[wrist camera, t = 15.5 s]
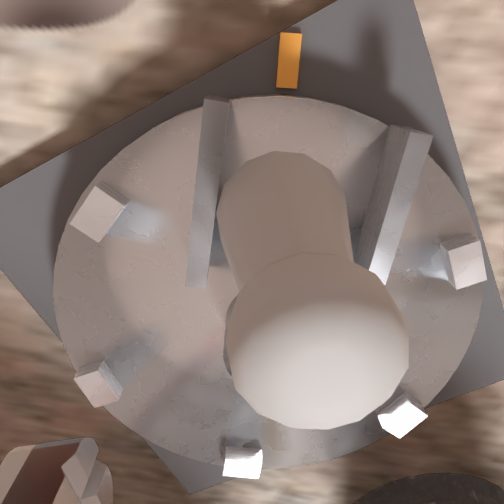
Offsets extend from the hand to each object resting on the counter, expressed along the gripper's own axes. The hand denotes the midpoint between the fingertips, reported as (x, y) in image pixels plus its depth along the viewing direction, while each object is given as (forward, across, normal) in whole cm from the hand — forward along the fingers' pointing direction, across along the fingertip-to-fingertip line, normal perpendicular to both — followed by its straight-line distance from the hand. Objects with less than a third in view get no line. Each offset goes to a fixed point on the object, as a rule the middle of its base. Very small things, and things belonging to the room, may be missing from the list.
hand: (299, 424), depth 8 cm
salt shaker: (+14, -1, 0) cm, 14 cm away
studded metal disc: (+16, +1, +7) cm, 17 cm away
